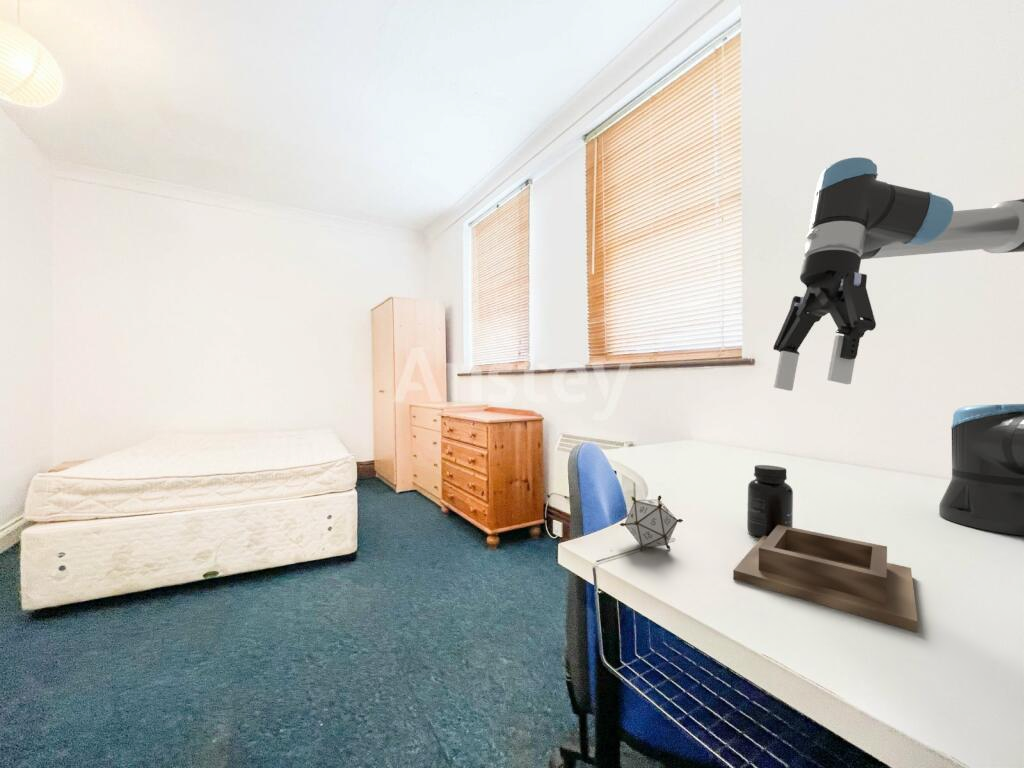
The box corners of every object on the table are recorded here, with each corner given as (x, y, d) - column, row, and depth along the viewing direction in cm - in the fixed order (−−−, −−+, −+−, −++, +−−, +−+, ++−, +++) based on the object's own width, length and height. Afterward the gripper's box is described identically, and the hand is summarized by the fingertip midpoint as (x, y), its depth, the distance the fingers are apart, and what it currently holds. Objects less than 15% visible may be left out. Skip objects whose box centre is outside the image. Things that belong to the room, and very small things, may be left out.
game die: (638, 570, 68) (600, 517, 70) (663, 540, 73) (627, 491, 75) (678, 561, 61) (635, 502, 63) (703, 528, 66) (663, 474, 68)
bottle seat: (910, 576, 58) (911, 546, 58) (917, 632, 45) (917, 593, 45) (762, 542, 71) (763, 517, 71) (733, 578, 57) (733, 547, 57)
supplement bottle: (800, 544, 70) (800, 472, 70) (755, 540, 72) (756, 469, 72) (782, 530, 77) (783, 464, 77) (741, 527, 78) (742, 462, 78)
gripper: (766, 278, 80) (745, 386, 79) (868, 216, 56) (840, 371, 54) (806, 286, 80) (785, 395, 78) (927, 226, 55) (901, 384, 54)
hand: (808, 386), depth 66 cm, fingers open, 13 cm apart
